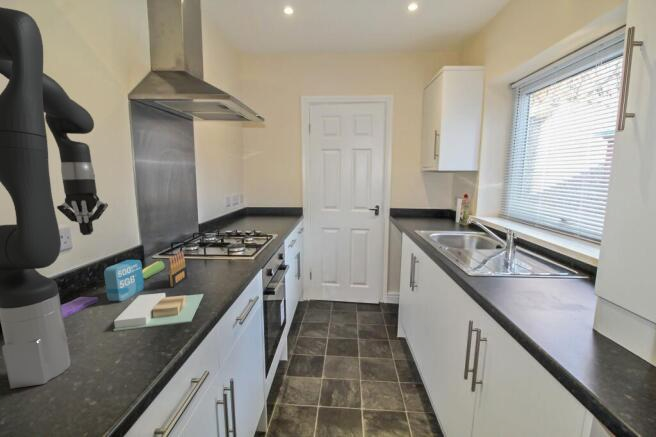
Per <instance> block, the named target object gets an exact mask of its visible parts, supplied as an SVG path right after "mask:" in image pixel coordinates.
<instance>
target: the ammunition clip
mask: <svg viewBox="0 0 656 437" xmlns="http://www.w3.org/2000/svg"><path fill="white" fill-rule="evenodd" d="M187 270H188V268H187V266H186V260H185V256H184V252H183V250H181V251H179V252H178V253H176V254H174V255H171V256H169V257H168V285H169V288H174V289H175V288H176V287H177V286H178V285H180V284H181V283H183V282H184V281H185V280H187V279H188V278H189V277H188V271H187Z"/></svg>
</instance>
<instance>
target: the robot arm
mask: <svg viewBox="0 0 656 437" xmlns="http://www.w3.org/2000/svg"><path fill="white" fill-rule="evenodd" d="M0 75H2V76H3V77H5V78H6V79H7V80H8V82H7V84H6V86H5V88H4V89H3V90H2V92H1V93H0V183H1V185H2V186H3V187H4V189H5V190H6V191H7V192H8V194H9V196H10V198H11V200H12V203H13V207H14V212H15V219H16V224H0V324H1V325H0V326H1V330H2V335H3V340H4V344H3V345H2V346H1V349H2V355H3V360H4V364H5V368H6V373H7V379H8V385H9V388H10V389H18V388H23V387H24V388H26V387H31V386H38V385H45V384H46V383H48V381H50V380H52V379H54V378H56V377H58V376H60V375H61V374H63V373H64V372H65V371H66V370H68V368H69V367H70V366H71V356H70V350H69V345H68V340H67V333H66V328H65V323H64V317H63V316H62V310H61V305H62V304H61V299H60V294H59V293H60V292H59V288H58V282H56V281H55V280H54V279H52V278H49V277H47V276H45V275H43V274H41V273H40V272H38V271H37V269H44V268H49V267H50V266H51V265H53V264H54V263H55V262H56V261H57V259H58V257H59V255H60V252H61V247H62V245H61V244H62V243H61V242H62V241H61V234H60V228H59V224H58V220H57V215H56V211H55V205H54V200H53V195H52V194H53V193H52V186H51V185H52V184H51V178H50V177H51V176H50V168H49V166H50V165H49V147H48V136H47V135H48V134H47V130H46V129H47V128H46V125H47V127H48V128H49V131H50V132H51V135H52V136H53V138H54V140H55V143H56V145H57V148H58V151H59V158H60V172H61V177H62V186H63V192H64V194H65V198H64V202H63V203H62V204H61V205H57V206H56V209H57V210H58V211H59V212H60V213H61V214H63V215H64V216H65V217H66V218H67V219H68V220H70V221H71V222H75V223H78V225H79V232H80V234H82V236H90V235H92V234H93V232H94V227H93V221H94V222H95V221H97V220H99V219H100V217H101V216H102V215H103V213H104V212H105V211H106V209H107V208H108V206H109V204H108V203H107V202H106V203H105V202H103V201H101V200H100V198H99V196H98V194H97V191H98V190H97V184H96V179H95V178H96V175H95V170H94V167H93V164H92V157H91V150H90V146H89V145H88V144H87V143H85V142H82V141H81V142H80V141H75V140H72V139H70V137H69V135H68V134H71V135H73V134H74V135H75V134H76V135H78V134H79V135H86V134H90V133H91V132H92V131H93V129H94V127H95V122H94V118H93V117H92V115H91V114H90V113H89V112H88V110H87V109H86V108H84V107H83V106H82V105H80V104H79V103H78V102H76V101H75V100H74V99H71V97H70V96H69V94H68V93H67V92H66V91H65V89H64V88H63V87H62V86H61V85H60V84H59V83H58V82H57V81H56V80H55V79H54V78H52V77H51V76H49V75H48V74H46V73H44V44H43V38H42V33H41V31H40V28H39V26H38V24H37V22H36V20H35V19H34V18H33V17H32V16H31V15H30V14H29V13H27V12H24V11H23V10H22V11H21V10H17V9H12V8H6V7H0ZM95 208H96V209H95ZM94 210H95V211H94Z"/></svg>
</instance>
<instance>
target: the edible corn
mask: <svg viewBox="0 0 656 437" xmlns="http://www.w3.org/2000/svg"><path fill="white" fill-rule="evenodd" d="M164 268H165V263H164V262H163V261H162V260H161V259H159V260H155V261H153V262H152V263H150V264H149V265H147V266H145V267H144V268H142V272H143V280H144V281H145V280H147V279H149V278H150V277H152V276H154V275H156V274H157V273H160V272H161V271H163V270H164Z"/></svg>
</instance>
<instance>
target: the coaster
mask: <svg viewBox="0 0 656 437" xmlns="http://www.w3.org/2000/svg"><path fill="white" fill-rule="evenodd" d="M186 296H187V295H185V294H184V295H177V296H176V295H175V296H174V295H172V296H166V297H163V298H162V299H161V300H160V301H159V303H158V304H157V305H156V306H155V307H154V308H153V317H163V316H172V315H179V313H180V312H181V310H182V308H183V307H184V305H185V304H186Z"/></svg>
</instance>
